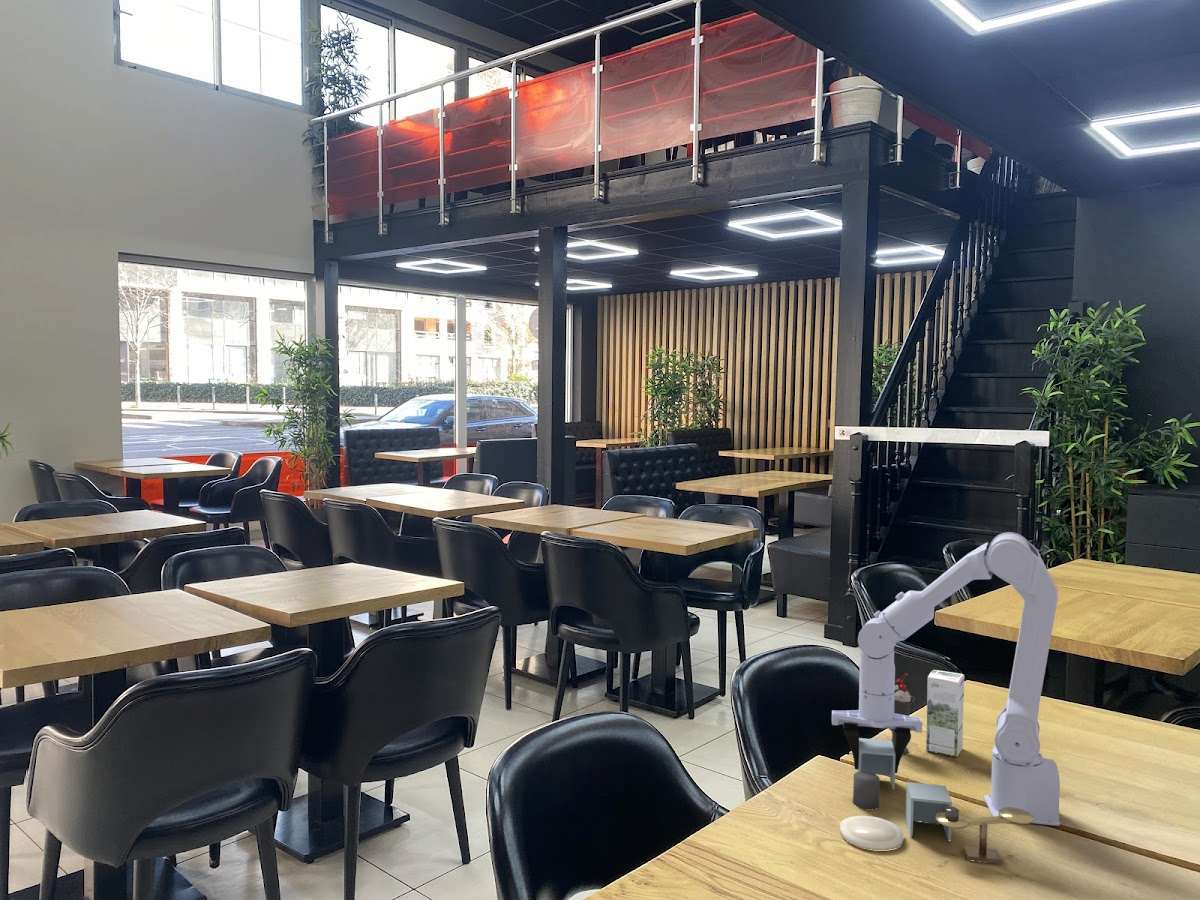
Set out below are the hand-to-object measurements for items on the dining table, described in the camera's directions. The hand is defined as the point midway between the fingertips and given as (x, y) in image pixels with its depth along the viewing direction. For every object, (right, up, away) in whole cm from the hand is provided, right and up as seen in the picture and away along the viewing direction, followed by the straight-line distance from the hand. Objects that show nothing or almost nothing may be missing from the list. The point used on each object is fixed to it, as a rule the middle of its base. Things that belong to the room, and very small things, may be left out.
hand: (875, 769), depth 145 cm
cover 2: (+3, -3, -16) cm, 17 cm away
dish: (-6, -3, -18) cm, 19 cm away
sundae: (+9, -2, +16) cm, 18 cm away
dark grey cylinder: (-4, -3, -7) cm, 9 cm away
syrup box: (+18, -2, +15) cm, 24 cm away
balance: (+8, -4, -24) cm, 25 cm away
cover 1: (0, -2, 0) cm, 2 cm away
